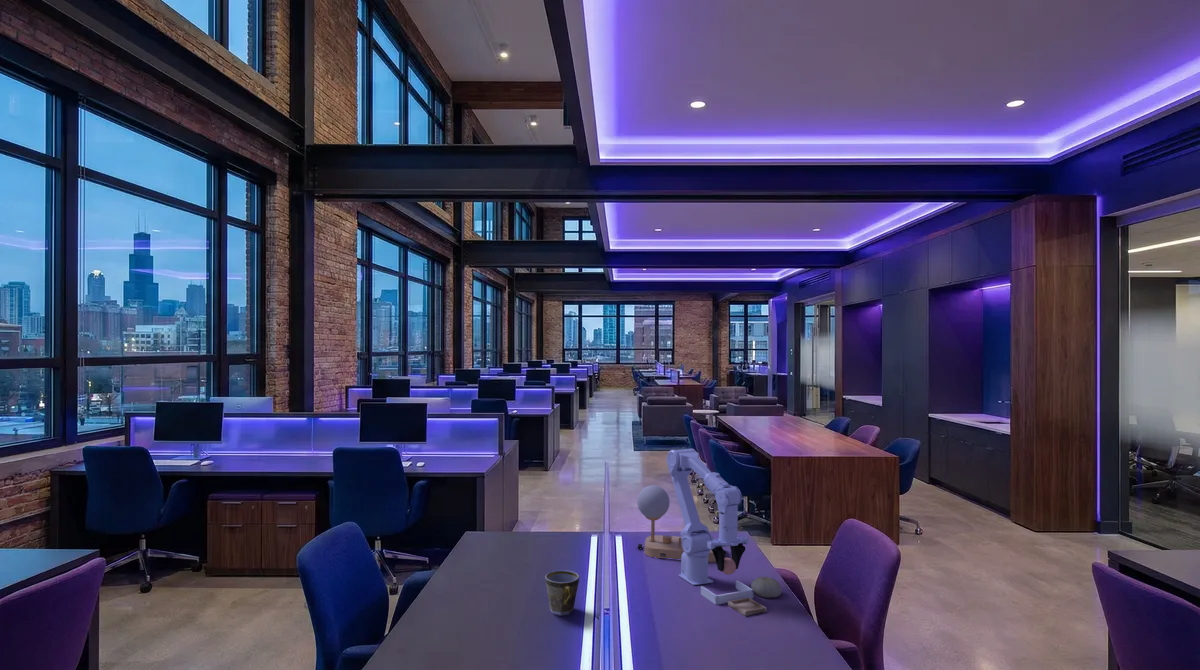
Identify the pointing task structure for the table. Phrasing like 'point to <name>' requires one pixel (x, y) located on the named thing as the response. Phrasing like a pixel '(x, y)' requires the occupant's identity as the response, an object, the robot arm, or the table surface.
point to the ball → (729, 566)
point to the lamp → (653, 507)
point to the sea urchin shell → (766, 587)
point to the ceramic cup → (562, 591)
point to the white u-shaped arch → (729, 594)
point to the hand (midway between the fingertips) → (727, 569)
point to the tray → (747, 606)
